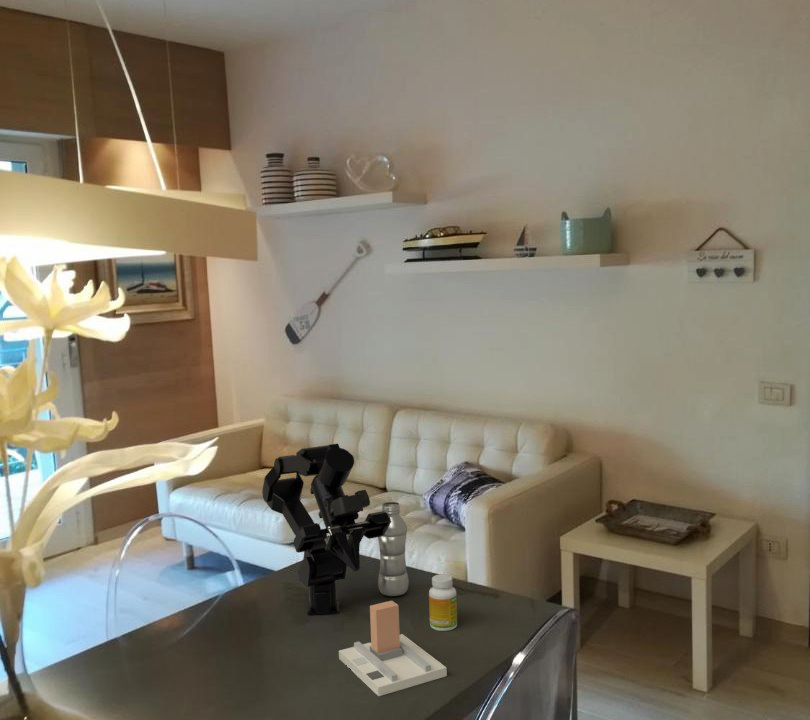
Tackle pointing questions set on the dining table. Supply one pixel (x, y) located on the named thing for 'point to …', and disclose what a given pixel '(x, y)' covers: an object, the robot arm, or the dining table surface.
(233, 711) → the dining table surface
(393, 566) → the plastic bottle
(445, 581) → the supplement bottle
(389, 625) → the slide tab
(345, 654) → the switch board
